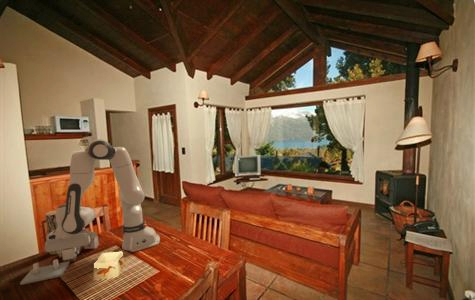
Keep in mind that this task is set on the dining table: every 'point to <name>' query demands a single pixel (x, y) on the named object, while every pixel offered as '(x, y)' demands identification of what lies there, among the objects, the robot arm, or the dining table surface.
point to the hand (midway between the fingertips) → (69, 254)
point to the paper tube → (51, 225)
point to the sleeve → (69, 254)
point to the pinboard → (45, 272)
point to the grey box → (92, 241)
